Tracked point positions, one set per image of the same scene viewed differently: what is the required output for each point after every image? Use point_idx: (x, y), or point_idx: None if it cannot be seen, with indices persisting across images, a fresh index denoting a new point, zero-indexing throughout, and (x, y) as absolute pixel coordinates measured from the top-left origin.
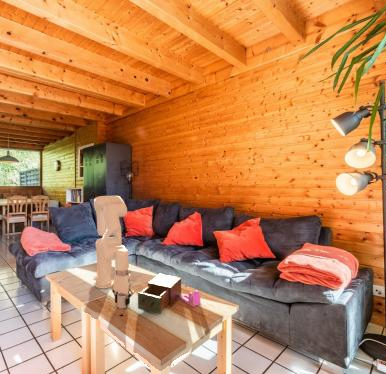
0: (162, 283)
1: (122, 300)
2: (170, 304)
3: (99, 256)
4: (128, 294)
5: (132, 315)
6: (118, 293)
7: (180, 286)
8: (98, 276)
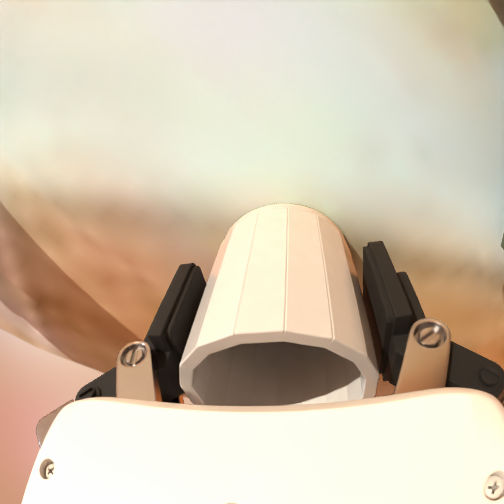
0: None
1: (335, 373)
2: None
3: None
4: (415, 378)
5: (469, 319)
6: (192, 394)
7: None
8: None
